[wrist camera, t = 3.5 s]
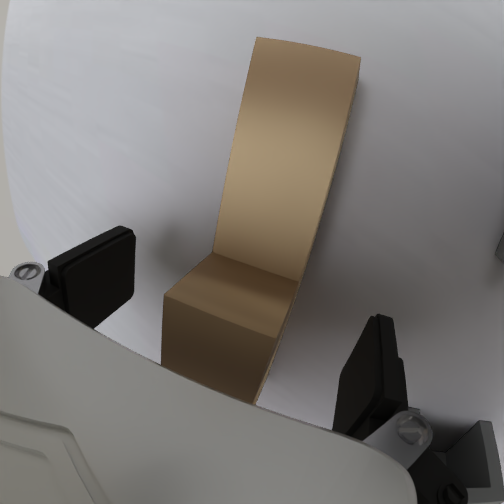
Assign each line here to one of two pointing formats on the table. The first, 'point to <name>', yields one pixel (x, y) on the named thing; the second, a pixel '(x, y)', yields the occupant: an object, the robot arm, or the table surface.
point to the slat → (262, 218)
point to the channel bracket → (476, 464)
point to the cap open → (501, 250)
